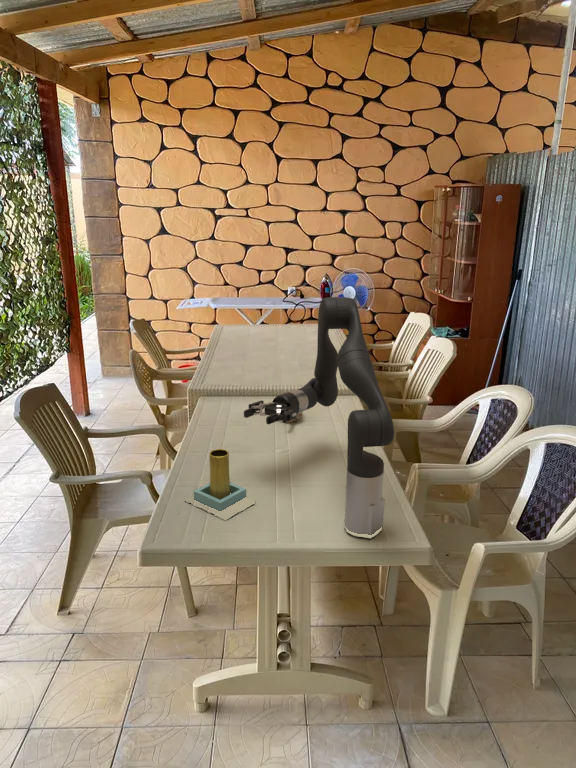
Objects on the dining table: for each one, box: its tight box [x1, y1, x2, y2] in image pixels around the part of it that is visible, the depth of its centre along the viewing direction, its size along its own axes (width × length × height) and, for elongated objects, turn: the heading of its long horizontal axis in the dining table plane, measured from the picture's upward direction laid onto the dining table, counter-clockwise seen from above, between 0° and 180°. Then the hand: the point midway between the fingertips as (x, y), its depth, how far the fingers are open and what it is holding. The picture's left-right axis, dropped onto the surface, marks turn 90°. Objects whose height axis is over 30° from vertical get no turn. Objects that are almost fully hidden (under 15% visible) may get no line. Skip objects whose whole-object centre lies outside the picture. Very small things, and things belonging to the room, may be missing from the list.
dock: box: [193, 482, 247, 511], centre depth 172 cm, size 16×12×4 cm
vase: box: [209, 448, 230, 500], centre depth 170 cm, size 6×6×14 cm
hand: (255, 417), depth 175 cm, fingers open, 8 cm apart
